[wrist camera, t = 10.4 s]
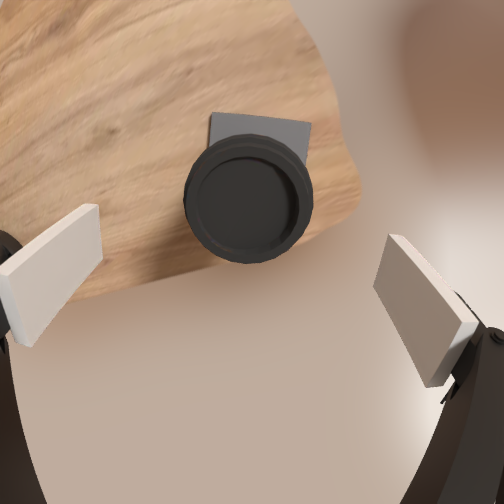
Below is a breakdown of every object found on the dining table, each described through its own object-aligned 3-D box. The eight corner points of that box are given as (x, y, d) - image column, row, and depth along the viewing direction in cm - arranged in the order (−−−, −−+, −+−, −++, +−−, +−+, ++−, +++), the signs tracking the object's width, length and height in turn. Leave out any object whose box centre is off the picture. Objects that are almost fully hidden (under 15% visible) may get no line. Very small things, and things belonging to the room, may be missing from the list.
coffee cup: (310, 153, 31) (346, 188, 18) (266, 217, 35) (267, 293, 21) (240, 109, 30) (222, 108, 16) (198, 177, 33) (154, 229, 19)
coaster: (206, 203, 35) (205, 205, 34) (213, 112, 30) (212, 112, 30) (297, 213, 35) (297, 215, 34) (310, 122, 31) (311, 123, 30)
